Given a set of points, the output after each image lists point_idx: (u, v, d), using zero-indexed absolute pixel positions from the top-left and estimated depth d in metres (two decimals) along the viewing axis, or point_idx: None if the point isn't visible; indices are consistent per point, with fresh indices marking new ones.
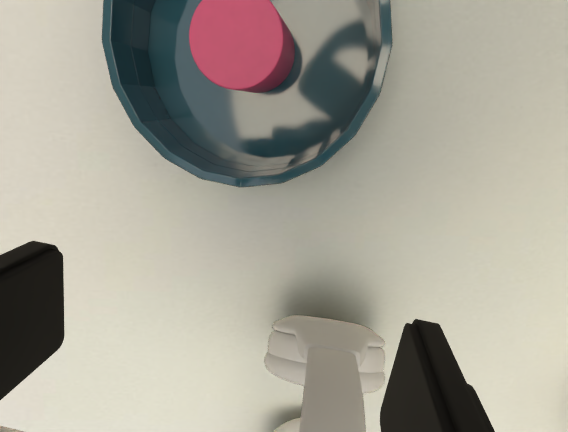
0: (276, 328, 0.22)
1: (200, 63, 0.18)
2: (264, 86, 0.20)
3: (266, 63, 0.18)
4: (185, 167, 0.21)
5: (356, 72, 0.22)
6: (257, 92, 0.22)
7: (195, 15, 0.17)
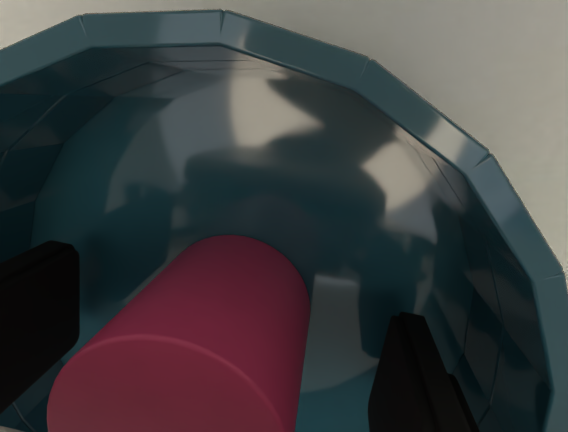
0: None
1: None
2: None
3: None
4: None
5: (441, 319, 0.11)
6: None
7: (53, 407, 0.07)
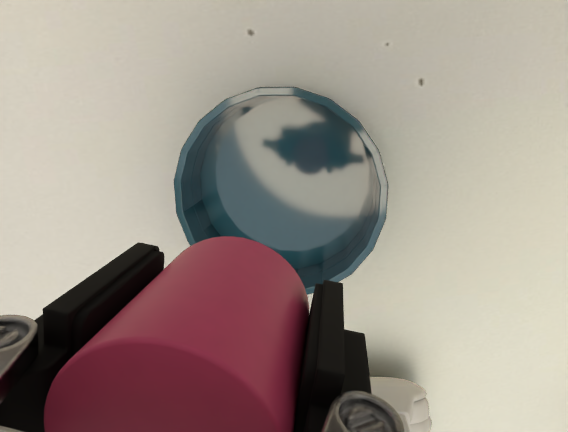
0: None
1: None
2: None
3: None
4: None
5: (363, 190, 0.28)
6: None
7: (50, 410, 0.07)
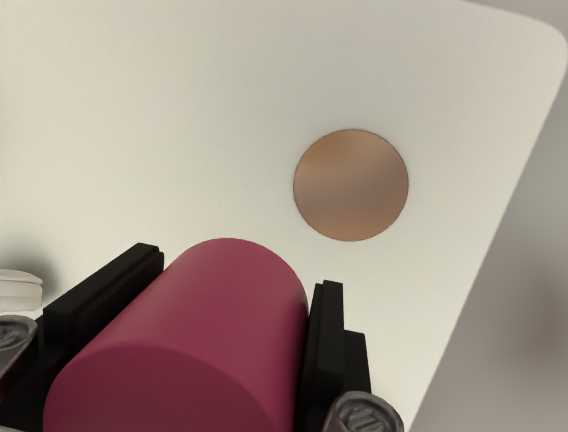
0: None
1: None
2: None
3: None
4: None
5: None
6: None
7: (49, 413, 0.07)
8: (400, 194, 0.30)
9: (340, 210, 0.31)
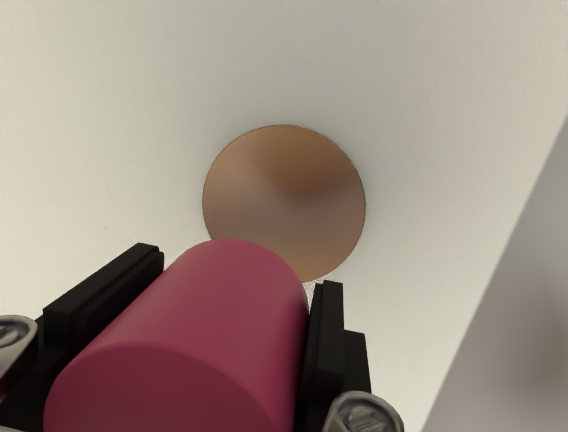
0: None
1: None
2: None
3: None
4: None
5: None
6: None
7: (49, 414, 0.07)
8: (354, 220, 0.21)
9: (270, 241, 0.22)
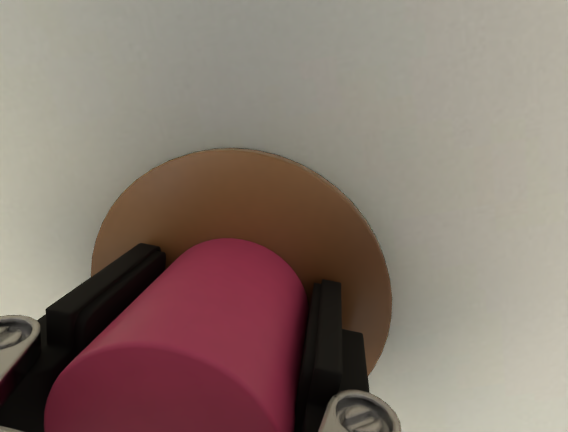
0: None
1: None
2: None
3: None
4: None
5: None
6: None
7: (50, 414, 0.07)
8: (370, 327, 0.11)
9: None
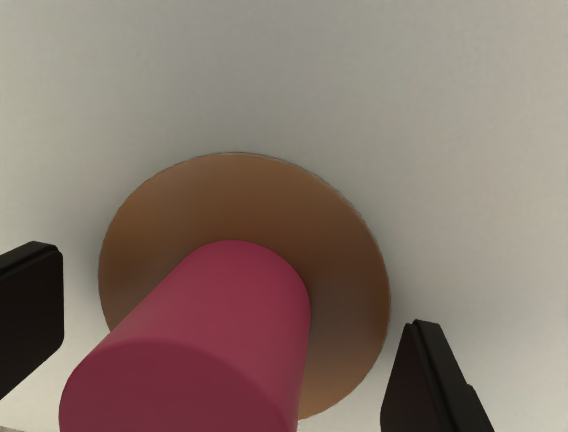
0: None
1: None
2: None
3: None
4: None
5: None
6: None
7: (65, 407, 0.07)
8: (369, 326, 0.11)
9: None
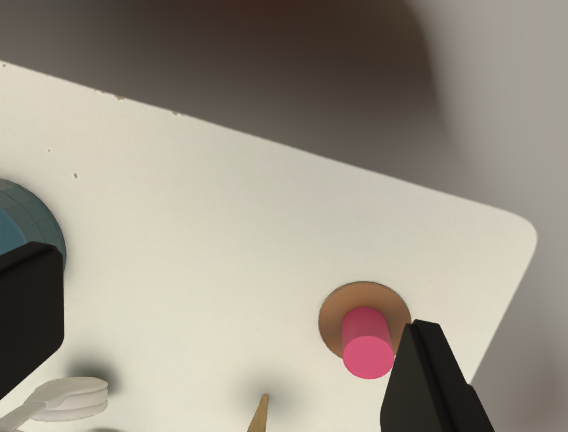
0: None
1: (350, 369, 0.34)
2: None
3: (386, 367, 0.34)
4: None
5: None
6: None
7: (345, 349, 0.34)
8: None
9: None
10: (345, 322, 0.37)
